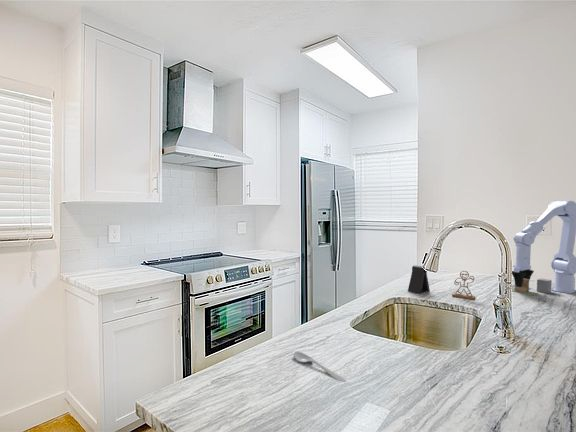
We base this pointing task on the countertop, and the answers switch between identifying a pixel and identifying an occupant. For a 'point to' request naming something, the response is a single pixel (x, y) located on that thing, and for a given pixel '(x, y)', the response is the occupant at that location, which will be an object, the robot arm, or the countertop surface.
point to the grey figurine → (464, 289)
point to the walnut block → (523, 286)
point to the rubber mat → (526, 292)
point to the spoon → (300, 356)
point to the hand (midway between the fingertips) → (522, 285)
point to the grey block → (544, 285)
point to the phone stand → (418, 280)
